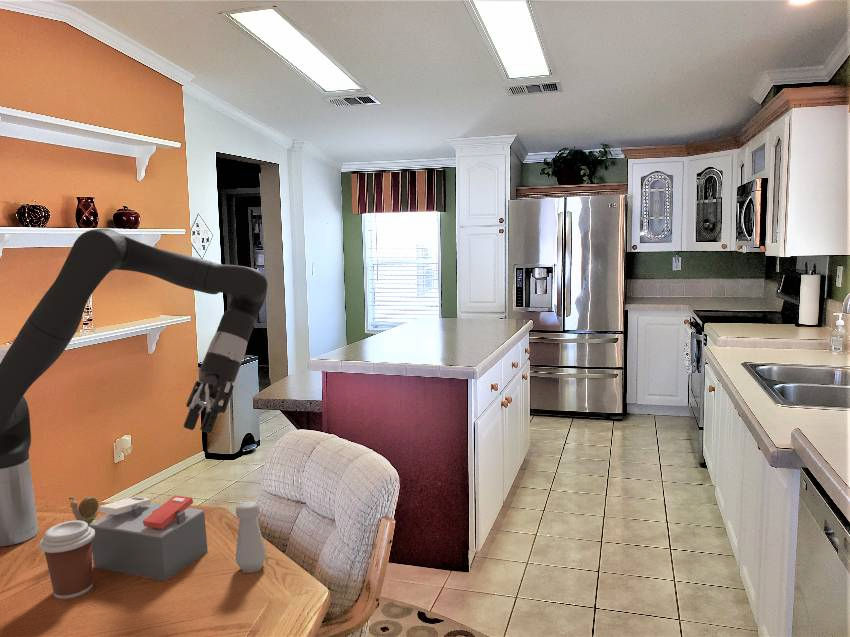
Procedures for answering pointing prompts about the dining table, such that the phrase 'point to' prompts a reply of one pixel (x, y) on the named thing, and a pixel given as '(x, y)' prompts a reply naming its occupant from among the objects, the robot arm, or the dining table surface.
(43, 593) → the dining table surface
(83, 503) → the snail figurine
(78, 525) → the coffee cup
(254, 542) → the salt shaker
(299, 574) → the dining table surface
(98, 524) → the switch box
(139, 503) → the white rocker
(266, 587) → the dining table surface
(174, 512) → the red rocker
